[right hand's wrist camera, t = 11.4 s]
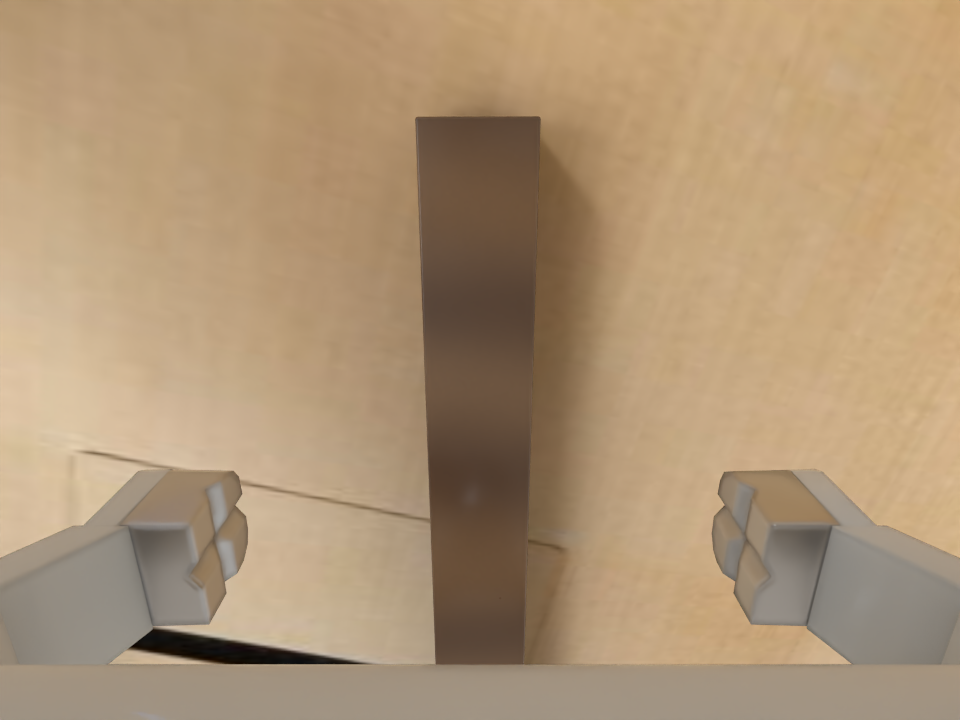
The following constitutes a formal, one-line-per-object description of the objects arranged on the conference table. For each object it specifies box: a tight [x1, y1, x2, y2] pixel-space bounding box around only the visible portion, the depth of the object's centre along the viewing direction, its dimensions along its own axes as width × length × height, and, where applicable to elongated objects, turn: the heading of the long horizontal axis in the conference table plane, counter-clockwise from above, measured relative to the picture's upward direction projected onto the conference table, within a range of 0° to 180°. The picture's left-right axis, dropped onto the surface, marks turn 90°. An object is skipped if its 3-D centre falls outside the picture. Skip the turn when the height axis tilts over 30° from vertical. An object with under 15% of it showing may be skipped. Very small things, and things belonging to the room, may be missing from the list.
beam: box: [415, 117, 541, 665], centre depth 37 cm, size 53×5×7 cm, turn 0°
